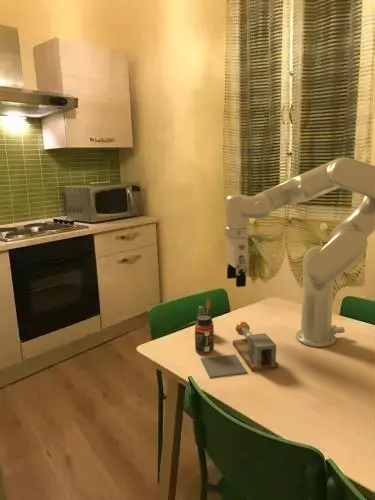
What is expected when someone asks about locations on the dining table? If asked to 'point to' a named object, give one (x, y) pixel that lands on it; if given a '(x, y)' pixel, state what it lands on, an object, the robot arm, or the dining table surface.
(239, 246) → the robot arm
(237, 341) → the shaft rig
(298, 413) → the dining table surface
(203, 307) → the utensil holder
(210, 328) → the supplement bottle
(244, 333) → the shaft
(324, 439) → the dining table surface
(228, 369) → the pad
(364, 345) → the dining table surface
